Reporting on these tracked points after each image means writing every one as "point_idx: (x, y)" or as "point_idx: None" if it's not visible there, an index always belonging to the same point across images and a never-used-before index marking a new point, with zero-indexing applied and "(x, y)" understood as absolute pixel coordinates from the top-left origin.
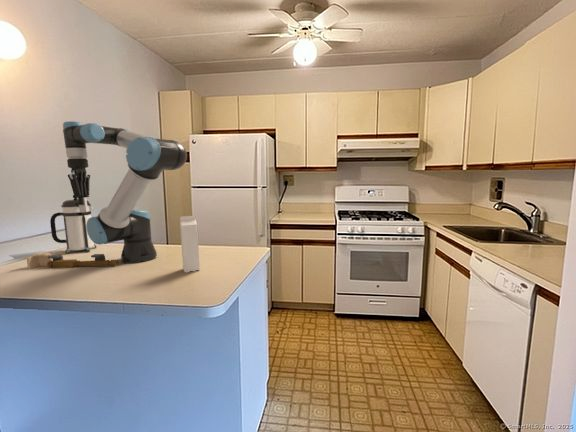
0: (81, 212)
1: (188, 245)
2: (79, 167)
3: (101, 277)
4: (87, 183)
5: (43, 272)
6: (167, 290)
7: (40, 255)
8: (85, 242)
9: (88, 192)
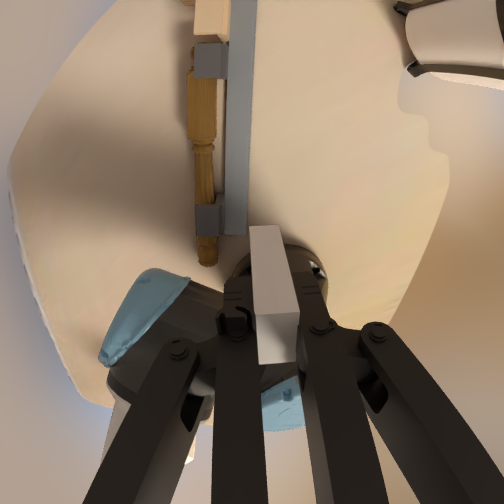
0: None
1: None
2: None
3: (115, 272)
4: (414, 486)
5: (141, 80)
6: (96, 371)
7: (195, 16)
8: (431, 65)
9: (372, 392)
